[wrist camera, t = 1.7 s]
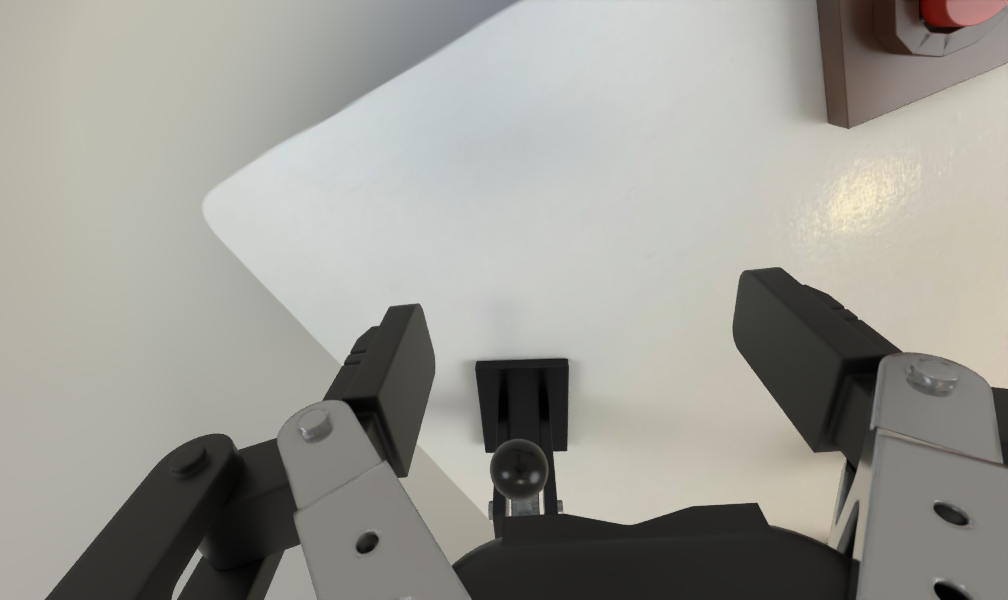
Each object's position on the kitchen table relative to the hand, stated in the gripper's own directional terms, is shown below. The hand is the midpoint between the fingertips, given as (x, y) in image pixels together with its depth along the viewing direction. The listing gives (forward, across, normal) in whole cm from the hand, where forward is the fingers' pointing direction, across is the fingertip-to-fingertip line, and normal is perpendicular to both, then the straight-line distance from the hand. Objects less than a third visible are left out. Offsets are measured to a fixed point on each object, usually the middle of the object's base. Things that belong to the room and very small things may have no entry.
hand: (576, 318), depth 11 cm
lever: (+11, +4, +19) cm, 22 cm away
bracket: (+25, +4, +26) cm, 36 cm away
